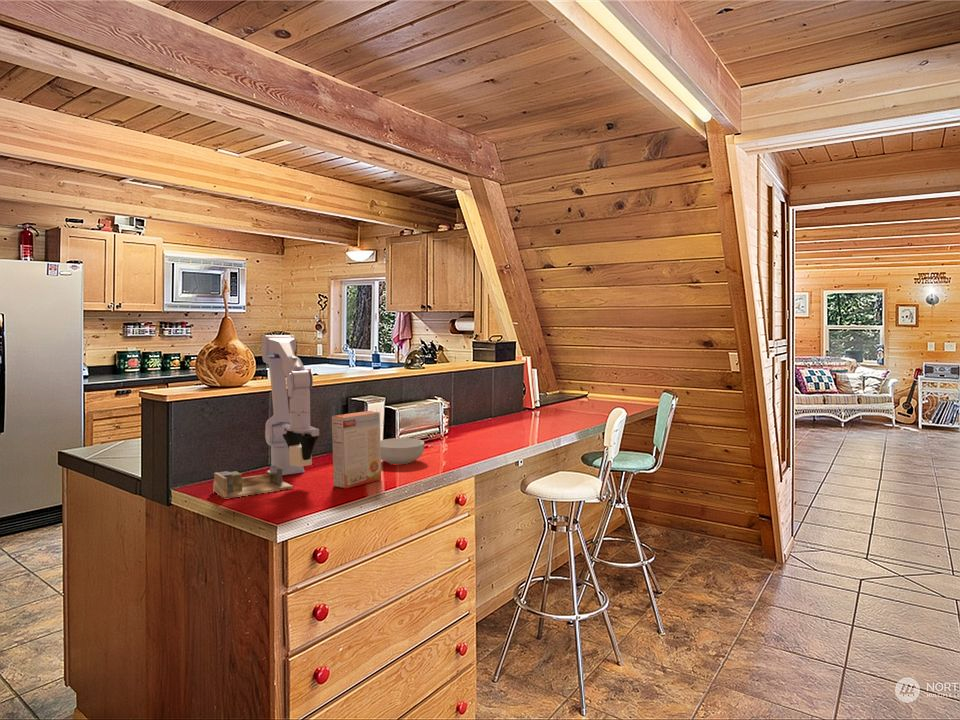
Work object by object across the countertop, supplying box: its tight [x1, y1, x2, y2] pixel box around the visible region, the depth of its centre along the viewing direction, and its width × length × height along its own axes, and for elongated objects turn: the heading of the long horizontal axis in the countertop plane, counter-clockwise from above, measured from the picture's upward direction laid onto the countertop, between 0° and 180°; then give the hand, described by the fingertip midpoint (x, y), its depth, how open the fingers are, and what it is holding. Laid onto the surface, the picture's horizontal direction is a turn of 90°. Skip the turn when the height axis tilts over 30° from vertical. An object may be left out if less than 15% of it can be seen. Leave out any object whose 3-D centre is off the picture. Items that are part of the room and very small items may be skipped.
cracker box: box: [331, 410, 382, 490], centre depth 189 cm, size 14×6×21 cm, turn 141°
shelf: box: [212, 470, 294, 500], centre depth 181 cm, size 19×10×6 cm, turn 129°
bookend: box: [269, 465, 283, 484], centre depth 186 cm, size 2×5×4 cm, turn 39°
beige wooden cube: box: [289, 443, 313, 467], centre depth 185 cm, size 4×5×6 cm
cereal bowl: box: [380, 437, 425, 465], centre depth 218 cm, size 17×17×7 cm
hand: (300, 458), depth 185 cm, fingers closed on beige wooden cube, 5 cm apart
